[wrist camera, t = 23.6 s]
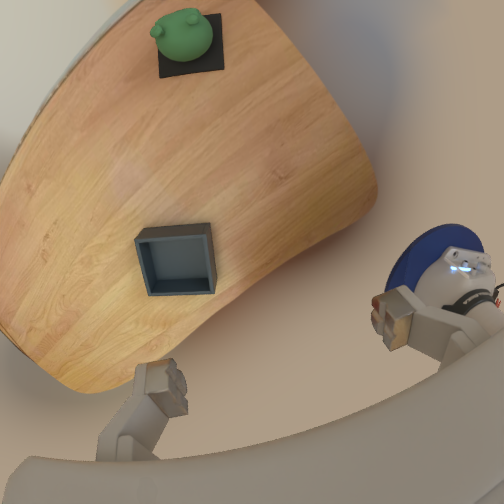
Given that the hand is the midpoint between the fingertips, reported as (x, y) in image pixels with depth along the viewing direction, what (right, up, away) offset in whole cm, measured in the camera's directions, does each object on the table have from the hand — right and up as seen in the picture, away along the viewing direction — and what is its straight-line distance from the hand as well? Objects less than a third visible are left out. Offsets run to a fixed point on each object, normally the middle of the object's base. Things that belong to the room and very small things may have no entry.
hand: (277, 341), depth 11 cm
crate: (-12, +3, +35) cm, 37 cm away
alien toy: (-9, +32, +21) cm, 39 cm away
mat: (-9, +32, +21) cm, 39 cm away
